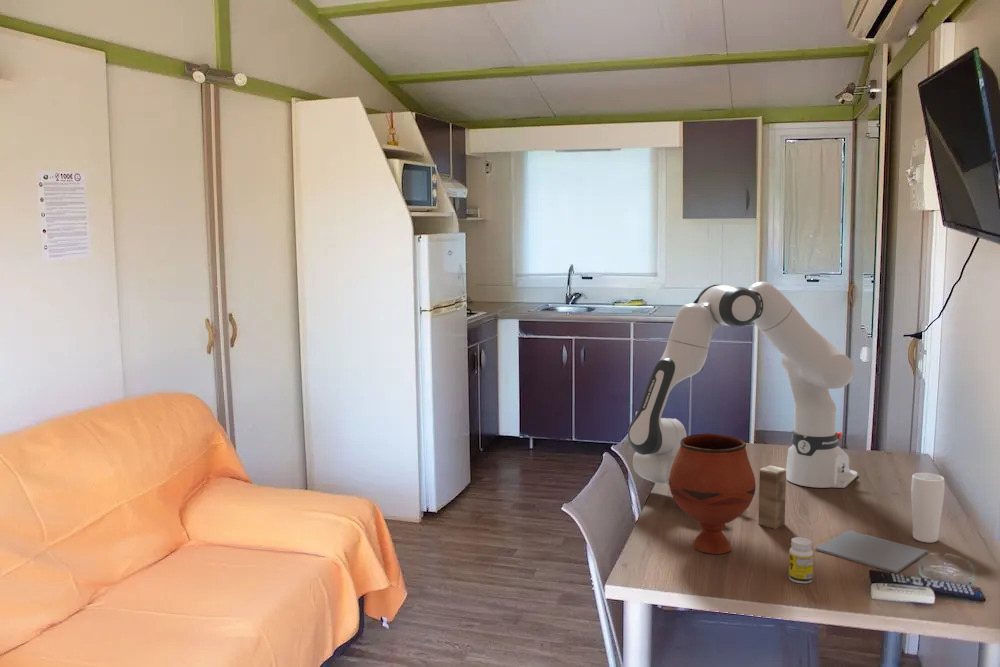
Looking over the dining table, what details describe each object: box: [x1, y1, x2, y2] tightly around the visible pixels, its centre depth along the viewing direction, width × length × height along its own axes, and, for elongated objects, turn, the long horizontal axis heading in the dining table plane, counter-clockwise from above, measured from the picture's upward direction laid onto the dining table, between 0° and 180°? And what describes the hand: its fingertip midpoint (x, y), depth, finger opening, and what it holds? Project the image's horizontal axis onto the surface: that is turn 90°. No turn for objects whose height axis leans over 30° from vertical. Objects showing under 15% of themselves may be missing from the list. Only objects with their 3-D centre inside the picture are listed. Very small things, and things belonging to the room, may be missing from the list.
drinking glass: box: [910, 472, 945, 544], centre depth 194 cm, size 7×7×15 cm
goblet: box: [668, 432, 757, 555], centre depth 191 cm, size 19×19×25 cm
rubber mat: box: [815, 529, 928, 574], centre depth 189 cm, size 16×18×1 cm
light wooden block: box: [757, 464, 787, 530], centre depth 206 cm, size 4×4×14 cm
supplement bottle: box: [788, 536, 814, 584], centre depth 174 cm, size 5×5×8 cm
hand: (731, 484), depth 214 cm, fingers open, 8 cm apart
